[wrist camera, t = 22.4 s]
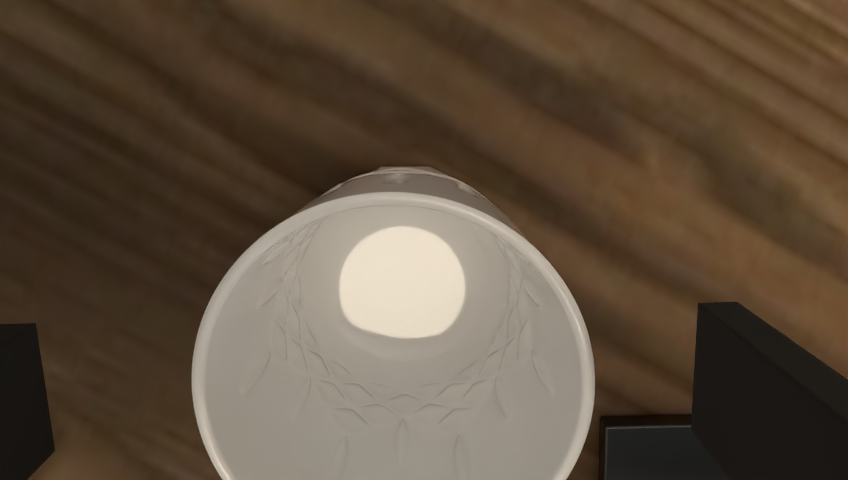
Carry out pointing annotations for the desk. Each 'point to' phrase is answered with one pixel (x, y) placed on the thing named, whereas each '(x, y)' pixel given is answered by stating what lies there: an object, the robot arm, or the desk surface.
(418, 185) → the white cup
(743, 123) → the desk surface
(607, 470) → the coffee machine
